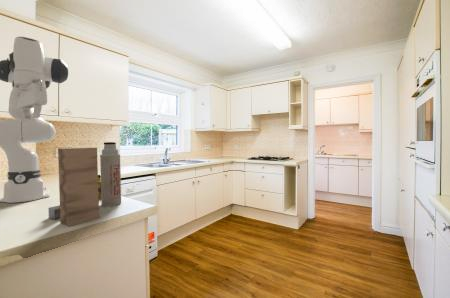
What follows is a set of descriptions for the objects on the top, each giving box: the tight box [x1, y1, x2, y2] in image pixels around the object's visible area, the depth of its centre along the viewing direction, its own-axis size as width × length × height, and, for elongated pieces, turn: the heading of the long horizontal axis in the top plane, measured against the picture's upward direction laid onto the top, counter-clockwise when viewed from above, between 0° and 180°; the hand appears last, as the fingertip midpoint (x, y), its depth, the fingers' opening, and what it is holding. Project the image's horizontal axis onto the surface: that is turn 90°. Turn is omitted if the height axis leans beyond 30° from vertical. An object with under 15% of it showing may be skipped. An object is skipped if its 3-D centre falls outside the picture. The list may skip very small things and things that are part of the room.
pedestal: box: [57, 147, 100, 227], centre depth 79 cm, size 6×10×26 cm, turn 147°
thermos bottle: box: [99, 141, 122, 207], centre depth 100 cm, size 8×8×28 cm
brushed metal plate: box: [47, 204, 60, 222], centre depth 85 cm, size 13×10×5 cm
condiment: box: [98, 174, 101, 201], centre depth 107 cm, size 7×8×12 cm
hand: (31, 118), depth 83 cm, fingers open, 8 cm apart
